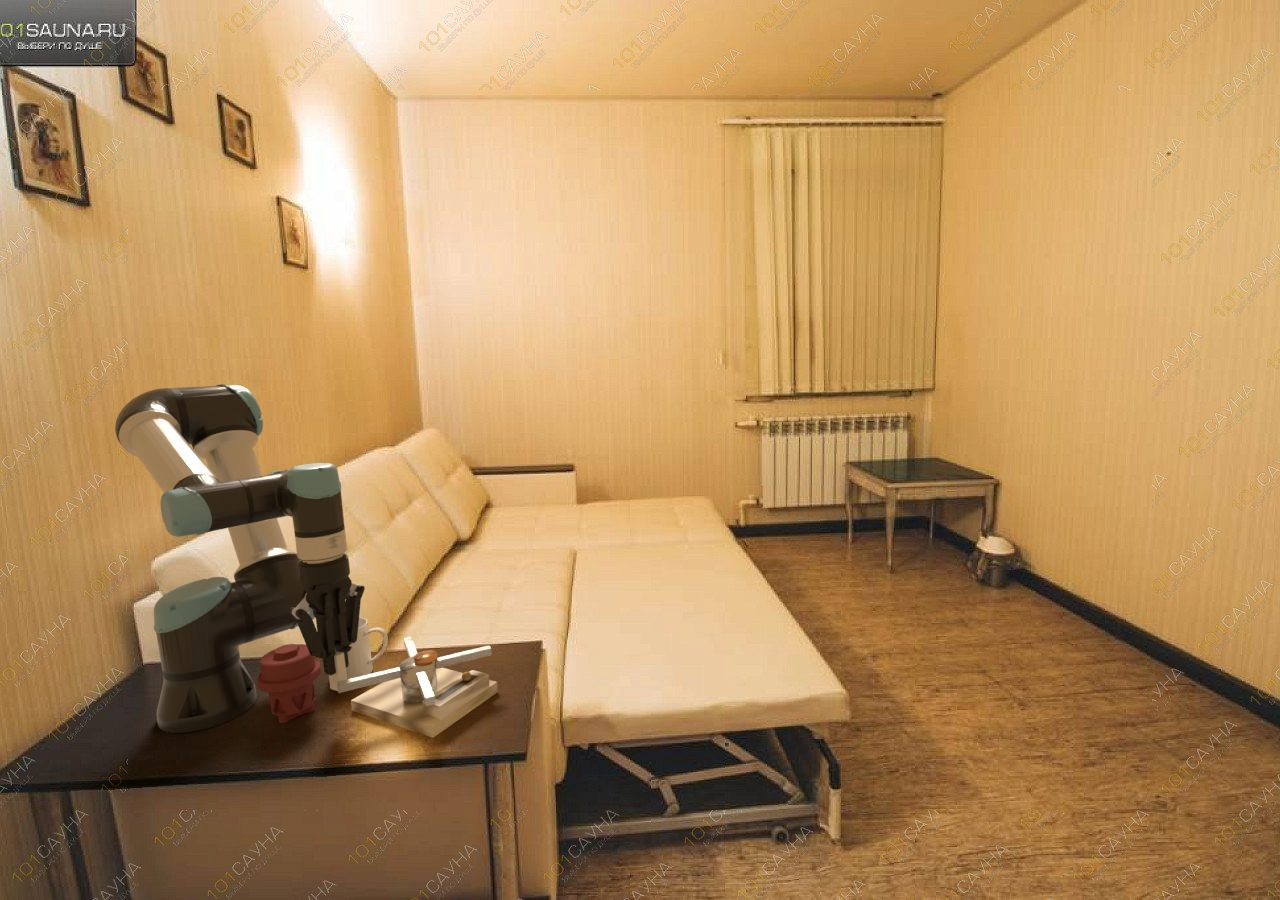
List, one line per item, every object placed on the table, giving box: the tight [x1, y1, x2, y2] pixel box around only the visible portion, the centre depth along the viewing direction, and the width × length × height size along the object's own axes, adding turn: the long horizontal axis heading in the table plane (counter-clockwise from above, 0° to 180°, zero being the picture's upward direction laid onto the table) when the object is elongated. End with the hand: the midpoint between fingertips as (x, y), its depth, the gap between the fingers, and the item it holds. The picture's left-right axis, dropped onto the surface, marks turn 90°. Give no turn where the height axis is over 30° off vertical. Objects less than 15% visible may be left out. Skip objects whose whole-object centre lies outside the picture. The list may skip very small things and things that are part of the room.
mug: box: [335, 616, 389, 679], centre depth 129 cm, size 12×8×10 cm, turn 84°
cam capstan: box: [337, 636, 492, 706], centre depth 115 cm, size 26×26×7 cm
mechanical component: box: [256, 643, 322, 724], centre depth 115 cm, size 12×10×10 cm
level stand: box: [350, 667, 498, 738], centre depth 118 cm, size 20×16×6 cm
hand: (339, 688), depth 111 cm, fingers closed
